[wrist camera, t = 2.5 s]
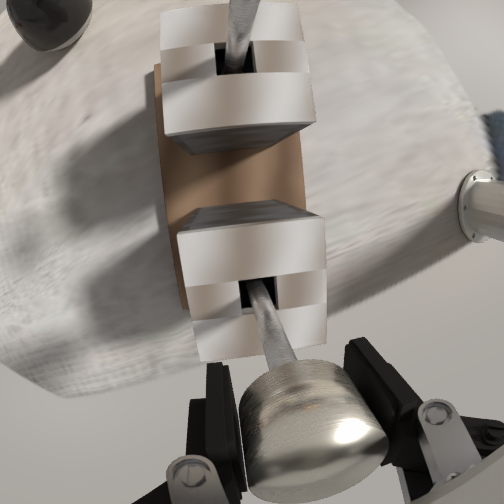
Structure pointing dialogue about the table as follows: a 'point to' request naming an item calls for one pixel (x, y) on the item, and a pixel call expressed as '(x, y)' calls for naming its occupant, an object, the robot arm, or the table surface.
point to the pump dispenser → (49, 21)
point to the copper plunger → (238, 39)
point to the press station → (239, 177)
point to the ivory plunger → (302, 418)
